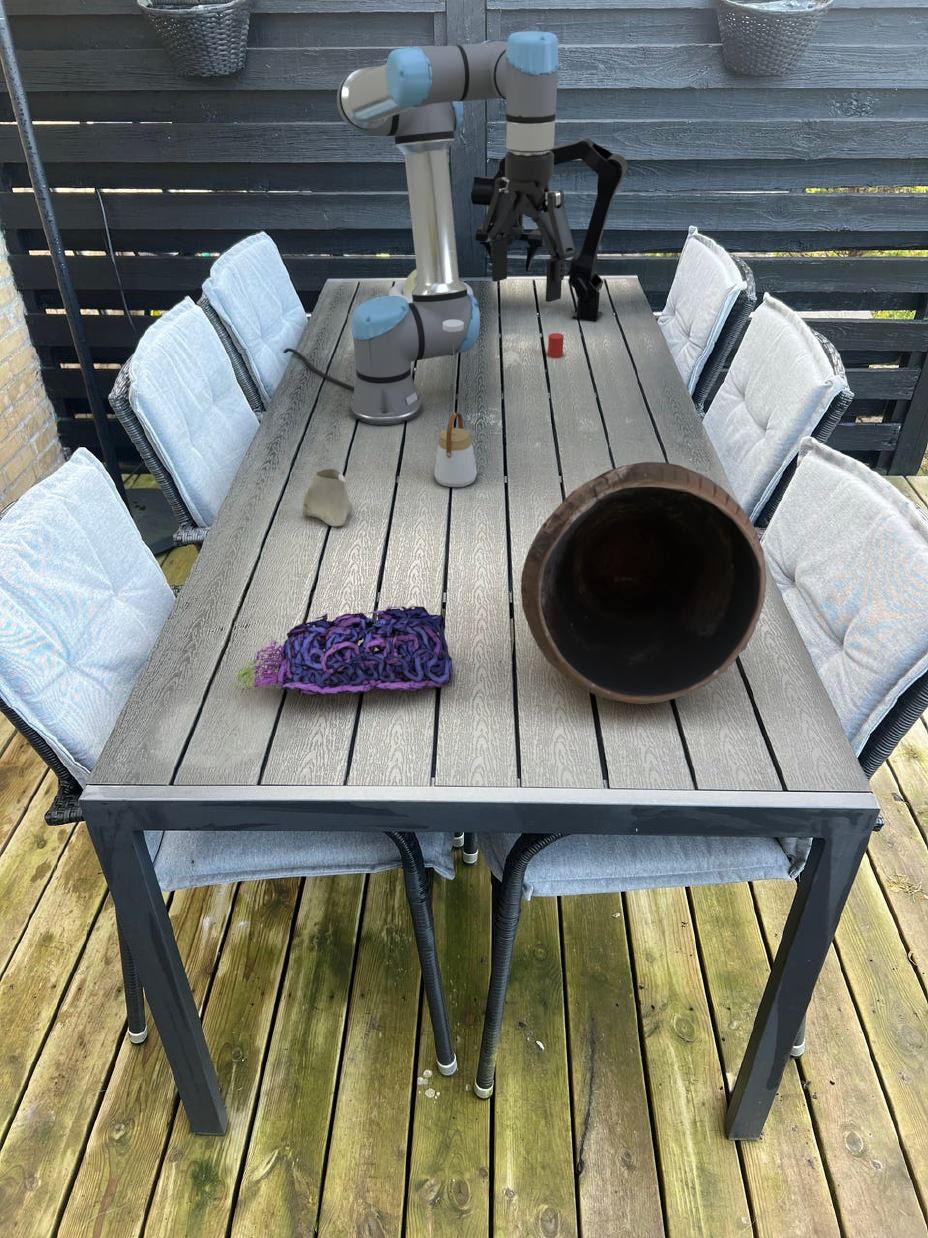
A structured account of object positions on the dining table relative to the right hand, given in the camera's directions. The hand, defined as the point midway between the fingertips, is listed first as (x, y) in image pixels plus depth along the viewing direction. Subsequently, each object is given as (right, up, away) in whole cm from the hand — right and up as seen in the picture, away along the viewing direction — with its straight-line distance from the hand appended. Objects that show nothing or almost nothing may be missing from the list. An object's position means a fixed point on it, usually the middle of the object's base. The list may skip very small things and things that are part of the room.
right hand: (510, 269), depth 247 cm
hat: (-21, -16, -3) cm, 26 cm away
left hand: (-2, -38, -91) cm, 99 cm away
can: (+10, -29, -20) cm, 36 cm away
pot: (+12, -97, -110) cm, 147 cm away
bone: (-37, -75, -80) cm, 116 cm away
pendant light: (-14, -66, -69) cm, 96 cm away
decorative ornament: (-29, -103, -116) cm, 158 cm away
